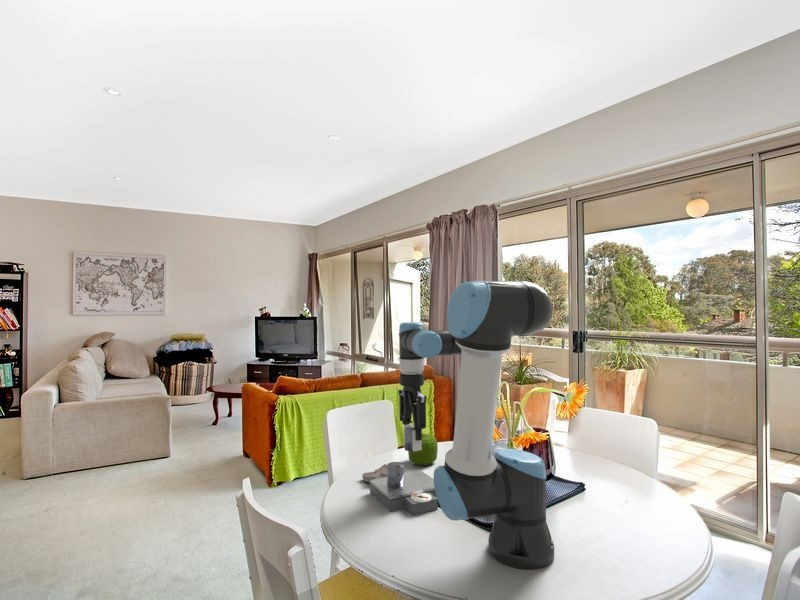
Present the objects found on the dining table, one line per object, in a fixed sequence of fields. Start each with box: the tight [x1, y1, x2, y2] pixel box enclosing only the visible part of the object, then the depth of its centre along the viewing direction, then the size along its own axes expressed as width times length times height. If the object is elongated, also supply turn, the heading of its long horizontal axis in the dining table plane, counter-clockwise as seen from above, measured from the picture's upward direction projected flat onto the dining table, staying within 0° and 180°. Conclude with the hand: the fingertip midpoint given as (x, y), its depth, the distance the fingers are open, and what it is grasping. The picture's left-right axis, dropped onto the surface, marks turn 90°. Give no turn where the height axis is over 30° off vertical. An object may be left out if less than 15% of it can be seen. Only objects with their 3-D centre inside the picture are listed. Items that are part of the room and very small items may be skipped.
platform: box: [369, 470, 435, 500], centre depth 140 cm, size 14×18×1 cm
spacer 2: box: [403, 426, 414, 452], centre depth 141 cm, size 5×5×6 cm
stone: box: [362, 464, 406, 485], centre depth 154 cm, size 15×10×4 cm, turn 138°
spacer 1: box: [387, 461, 405, 488], centre depth 138 cm, size 5×5×6 cm
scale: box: [369, 483, 439, 516], centre depth 137 cm, size 20×18×4 cm
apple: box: [407, 432, 439, 466], centre depth 169 cm, size 11×11×11 cm
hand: (412, 447), depth 141 cm, fingers closed on spacer 2, 5 cm apart
